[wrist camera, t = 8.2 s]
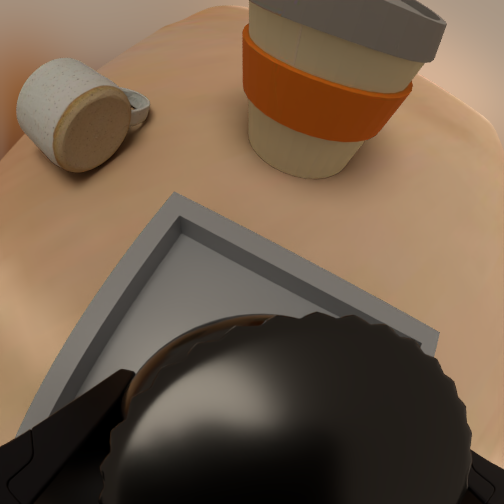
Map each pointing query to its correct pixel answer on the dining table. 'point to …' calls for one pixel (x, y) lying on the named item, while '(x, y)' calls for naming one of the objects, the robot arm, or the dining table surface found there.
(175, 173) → the dining table surface
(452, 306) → the dining table surface
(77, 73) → the ceramic mug
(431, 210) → the dining table surface
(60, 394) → the tray
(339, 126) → the reusable coffee cup
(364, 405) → the supplement bottle
